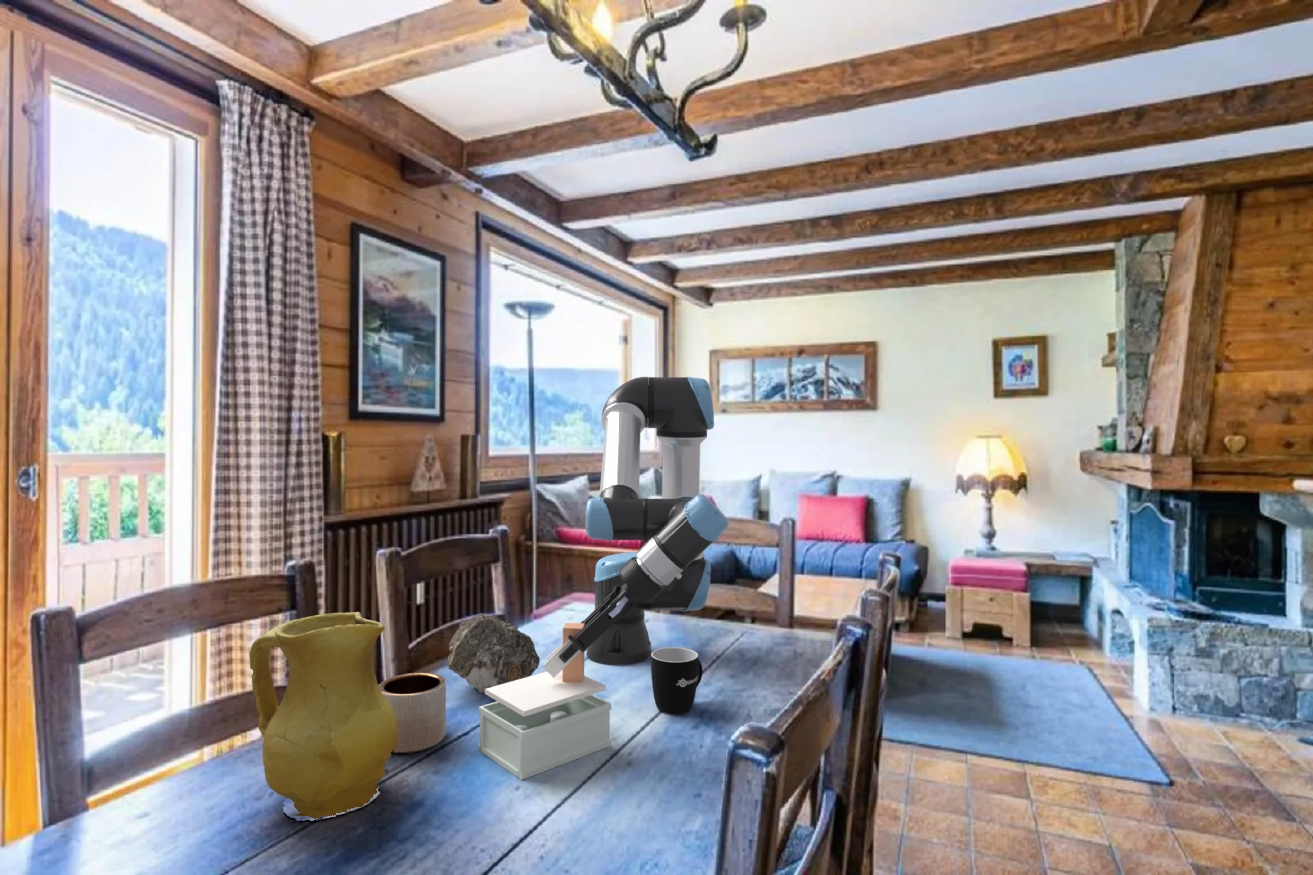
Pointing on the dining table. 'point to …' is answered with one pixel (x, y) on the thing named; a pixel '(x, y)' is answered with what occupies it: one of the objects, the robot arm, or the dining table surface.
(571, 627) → the lid
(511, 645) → the rock
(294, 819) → the dining table surface
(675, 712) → the mug
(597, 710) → the tub
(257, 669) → the pitcher
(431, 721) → the planter
